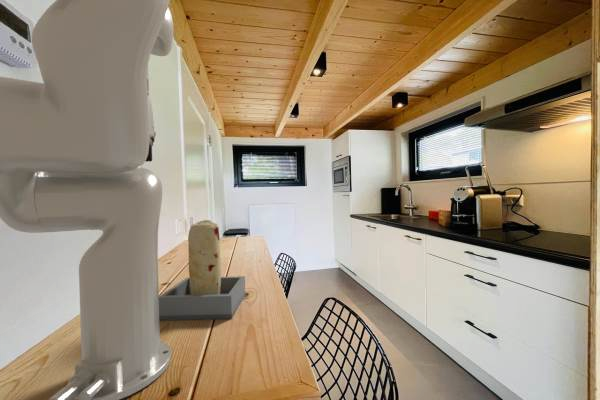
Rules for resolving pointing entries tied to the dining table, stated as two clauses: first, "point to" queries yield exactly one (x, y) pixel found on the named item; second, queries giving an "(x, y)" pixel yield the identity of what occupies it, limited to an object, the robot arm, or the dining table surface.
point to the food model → (204, 258)
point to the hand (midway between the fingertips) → (131, 158)
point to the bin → (202, 301)
